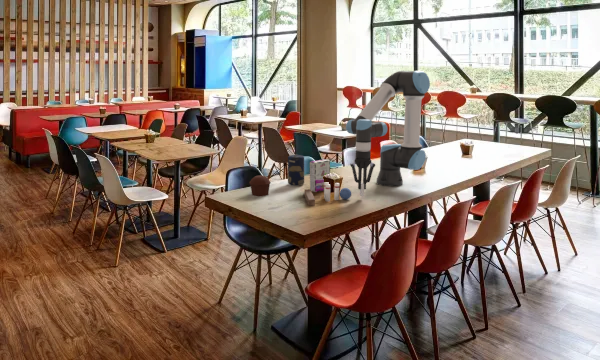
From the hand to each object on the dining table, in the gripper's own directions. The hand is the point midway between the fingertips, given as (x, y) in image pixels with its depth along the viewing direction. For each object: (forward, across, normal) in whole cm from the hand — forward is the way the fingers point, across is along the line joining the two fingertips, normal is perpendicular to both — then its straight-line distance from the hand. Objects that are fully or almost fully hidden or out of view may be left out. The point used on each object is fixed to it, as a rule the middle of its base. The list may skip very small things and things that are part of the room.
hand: (361, 195), depth 270 cm
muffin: (+2, +52, -14) cm, 54 cm away
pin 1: (+2, +18, -2) cm, 18 cm away
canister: (+2, +31, -36) cm, 48 cm away
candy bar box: (+2, +19, -22) cm, 29 cm away
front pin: (+2, +13, 0) cm, 13 cm away
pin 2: (+2, +18, +2) cm, 18 cm away
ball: (-1, +8, 0) cm, 9 cm away
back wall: (+2, +27, 0) cm, 27 cm away
